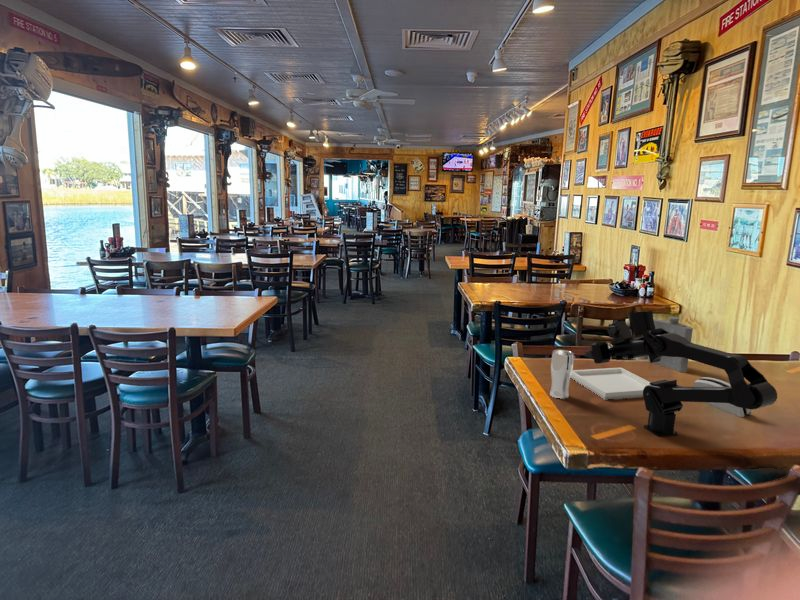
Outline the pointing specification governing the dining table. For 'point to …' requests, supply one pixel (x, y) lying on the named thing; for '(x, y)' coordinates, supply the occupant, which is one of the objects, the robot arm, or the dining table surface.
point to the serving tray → (611, 382)
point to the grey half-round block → (724, 406)
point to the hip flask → (680, 329)
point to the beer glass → (561, 373)
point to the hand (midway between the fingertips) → (596, 352)
